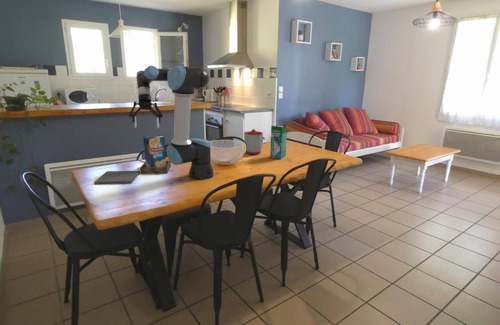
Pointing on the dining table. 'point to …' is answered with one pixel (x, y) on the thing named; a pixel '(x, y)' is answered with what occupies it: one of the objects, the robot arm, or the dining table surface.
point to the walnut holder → (155, 169)
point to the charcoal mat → (117, 177)
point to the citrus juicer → (253, 141)
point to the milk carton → (278, 141)
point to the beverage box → (155, 151)
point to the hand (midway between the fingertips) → (147, 127)
